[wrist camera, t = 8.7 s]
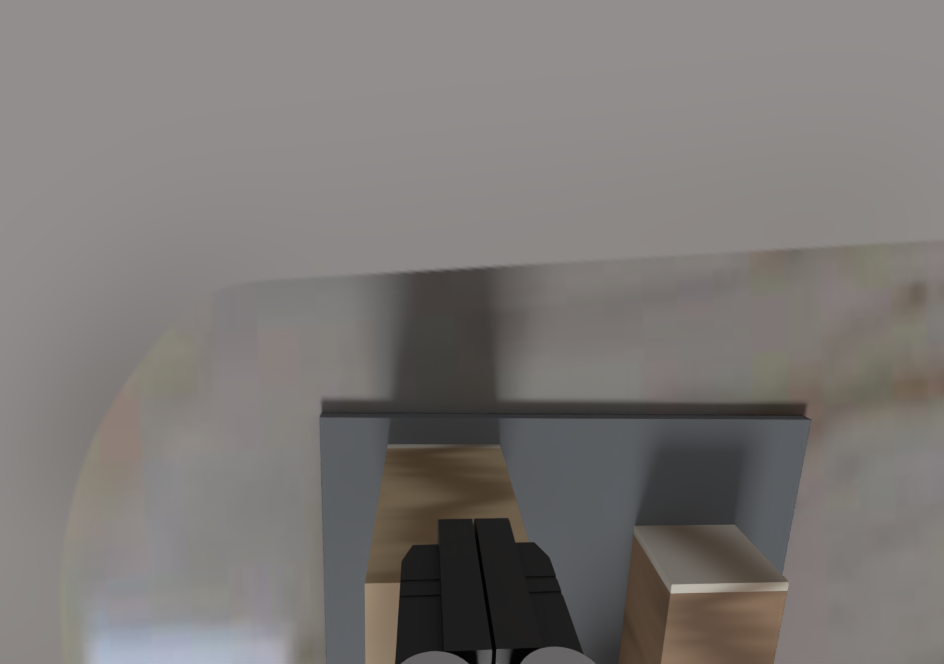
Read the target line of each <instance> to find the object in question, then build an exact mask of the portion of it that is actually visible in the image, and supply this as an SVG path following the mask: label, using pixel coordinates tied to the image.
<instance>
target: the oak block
mask: <svg viewBox="0 0 944 664" xmlns="http://www.w3.org/2000/svg"><path fill="white" fill-rule="evenodd" d="M475 518H509V521H510V524H511V528H512V532H513V535H514V539H515V543H516V542H529V541H528V538H527V534H526V531H525V528H524V524H523V521H522V517H521V514H520V511H519V507H518V504H517V501H516V497H515V494H514V490H513V487H512V484H511V480H510V477H509V474H508V470H507V467H506V463H505V460H504V457H503V453H502V450H501V447H500V444H388V445H387V451H386V457H385V463H384V469H383V475H382V482H381V488H380V494H379V500H378V506H377V512H376V518H375V524H374V530H373V536H372V542H371V548H370V554H369V561H368V567H367V573H366V579H365V664H395V657H396V641H397V625H398V609H399V593H400V577H401V561H402V560H403V558H404V557H405V555H406V554H407V552H408V551H409V550H410V548H411V547H412V545H429V544H437V529H438V519H472V521H473V523H474V519H475Z"/></svg>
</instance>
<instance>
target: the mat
mask: <svg viewBox="0 0 944 664" xmlns="http://www.w3.org/2000/svg"><path fill="white" fill-rule="evenodd" d="M810 424H811V419H809V418H807V417H806V416H761V415H573V414H386V413H322V414H321V416H320V450H321V485H322V521H323V557H324V593H325V629H326V664H365V579H366V573H367V567H368V561H369V554H370V548H371V542H372V536H373V530H374V524H375V518H376V512H377V506H378V500H379V494H380V488H381V482H382V475H383V469H384V463H385V457H386V451H387V445H388V444H500V447H501V450H502V453H503V457H504V460H505V463H506V467H507V470H508V474H509V477H510V480H511V484H512V487H513V490H514V494H515V497H516V501H517V504H518V507H519V511H520V514H521V517H522V521H523V524H524V528H525V531H526V534H527V538H528V541H529V542H535V543H536V544H537V545H538V546H539V547H540V548H541V549H542V550H543V551H544V552H545V553H546V554H547V555H548V556H549V557H550V560H551V563H552V566H553V568H554V571H555V574H556V579H557V580H558V583H559V585H560V588H561V593H562V595H563V597H564V600H565V602H566V605H567V608H568V611H569V614H570V617H571V619H572V622H573V625H574V628H575V631H576V634H577V636H578V639H579V642H580V645H581V648H582V651H583V653H584V655H585V656H587V657H588V658H590V659H591V660H592V661H593V662H595V663H596V664H618V662H619V654H620V645H621V636H622V628H623V619H624V611H625V602H626V593H627V585H628V576H629V567H630V559H631V550H632V541H633V533H634V526H653V525H736V527H737V528H738V529H739V530H740V531H741V532H742V533H743V534H744V535H745V536H746V537H747V538H748V539H749V540H750V541H751V542H752V543H753V544H754V546H755V547H756V548H757V549H758V550H759V551H760V552H761V553H762V554H763V555H764V556H765V557H766V558H767V559H768V560H769V561H770V562H771V563H772V565H773V566H774V567H775V568H776V569H777V570H778V571H779V572H780V573H781V574H782V572H783V567H784V562H785V556H786V551H787V546H788V541H789V535H790V530H791V525H792V519H793V514H794V509H795V503H796V498H797V493H798V487H799V482H800V477H801V471H802V466H803V461H804V456H805V450H806V445H807V440H808V434H809V429H810Z"/></svg>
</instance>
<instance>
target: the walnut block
mask: <svg viewBox="0 0 944 664" xmlns="http://www.w3.org/2000/svg"><path fill="white" fill-rule="evenodd" d="M788 585H789V581H788V580H787V579H786V578H785V577H784V576H783V575H782V574H781V573H780V572H779V571H778V570H777V569H776V568H775V567H774V566H773V565H772V563H771V562H770V561H769V560H768V559H767V558H766V557H765V556H764V555H763V554H762V553H761V552H760V551H759V550H758V549H757V548H756V547H755V546H754V544H753V543H752V542H751V541H750V540H749V539H748V538H747V537H746V536H745V535H744V534H743V533H742V532H741V531H740V530H739V529H738V528H737V527H736V525H653V526H634V533H633V541H632V550H631V559H630V567H629V576H628V585H627V593H626V602H625V611H624V619H623V628H622V636H621V645H620V654H619V662H618V664H773V663H774V658H775V653H776V648H777V642H778V637H779V632H780V627H781V622H782V616H783V611H784V606H785V601H786V596H787V590H788Z"/></svg>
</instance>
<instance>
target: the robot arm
mask: <svg viewBox="0 0 944 664" xmlns="http://www.w3.org/2000/svg"><path fill="white" fill-rule="evenodd" d="M395 664H596V663H595V662H593V661H592V660H591V659H590V658H588V657H587V656H585V655H584V653H583V651H582V648H581V645H580V642H579V639H578V636H577V634H576V631H575V628H574V625H573V622H572V619H571V617H570V614H569V611H568V608H567V605H566V602H565V600H564V597H563V595H562V593H561V588H560V585H559V583H558V580H557V579H556V574H555V571H554V568H553V566H552V563H551V560H550V557H549V556H548V555H547V554H546V553H545V552H544V551H543V550H542V549H541V548H540V547H539V546H538V545H537V544H536V543H535V542H516V543H515V539H514V535H513V532H512V528H511V524H510V521H509V518H475V519H474V523H473V521H472V519H438V529H437V544H429V545H412V547H411V548H410V550H409V551H408V552H407V554H406V555H405V557H404V558H403V560H402V561H401V577H400V593H399V609H398V625H397V641H396V657H395Z"/></svg>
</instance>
